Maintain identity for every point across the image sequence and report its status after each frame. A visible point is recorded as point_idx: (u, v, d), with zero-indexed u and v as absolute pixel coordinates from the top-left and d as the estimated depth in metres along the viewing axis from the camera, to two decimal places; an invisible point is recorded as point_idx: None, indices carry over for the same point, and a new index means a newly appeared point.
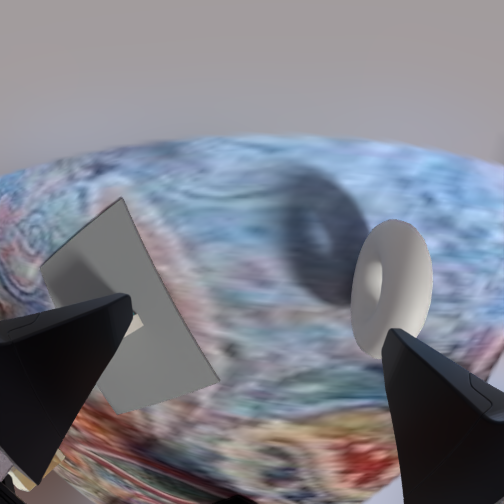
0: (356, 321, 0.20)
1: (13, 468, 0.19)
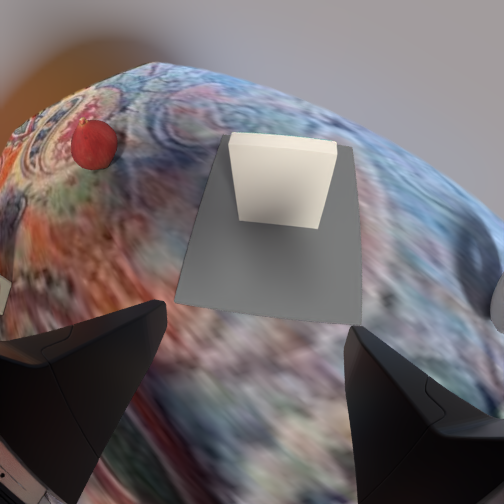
0: None
1: None
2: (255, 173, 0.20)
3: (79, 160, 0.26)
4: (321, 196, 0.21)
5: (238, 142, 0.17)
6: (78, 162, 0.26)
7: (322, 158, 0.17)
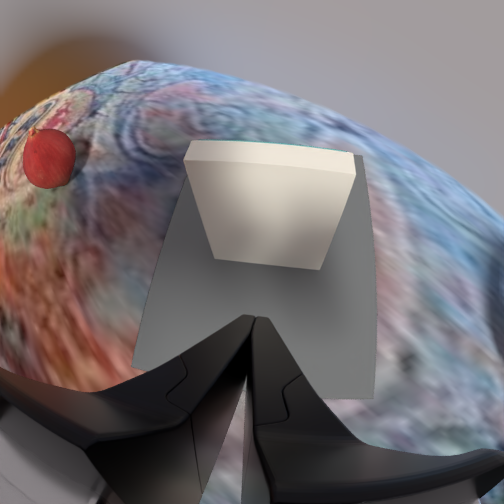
0: None
1: None
2: (229, 201, 0.13)
3: (30, 178, 0.19)
4: (327, 232, 0.14)
5: (199, 156, 0.11)
6: (30, 180, 0.20)
7: (331, 180, 0.11)
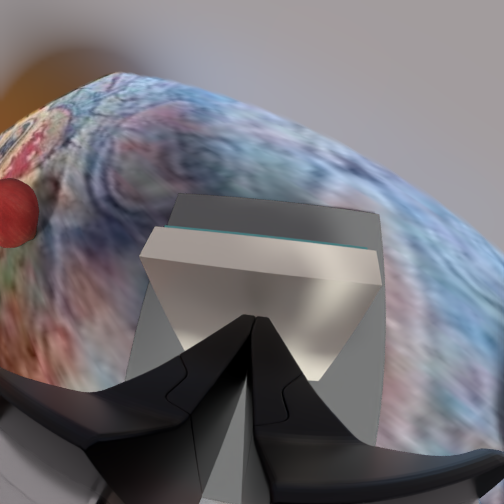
0: None
1: None
2: (204, 311, 0.10)
3: None
4: (332, 348, 0.11)
5: (160, 252, 0.08)
6: None
7: (347, 293, 0.08)
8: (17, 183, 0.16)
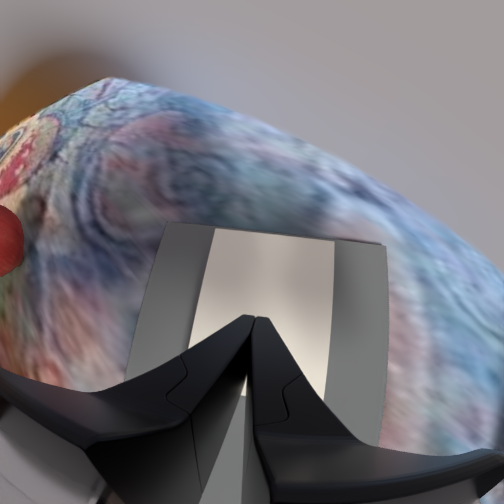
0: None
1: None
2: (235, 272, 0.15)
3: None
4: (324, 315, 0.14)
5: None
6: None
7: (319, 247, 0.16)
8: None
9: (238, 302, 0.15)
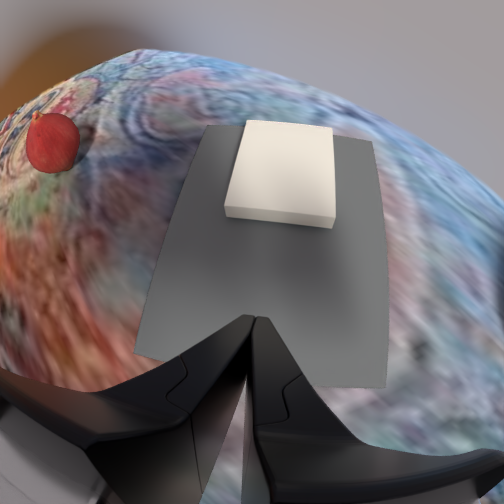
0: None
1: None
2: (263, 141, 0.20)
3: (33, 162, 0.19)
4: (329, 164, 0.19)
5: None
6: (33, 165, 0.19)
7: (321, 130, 0.21)
8: (64, 116, 0.20)
9: (266, 156, 0.20)
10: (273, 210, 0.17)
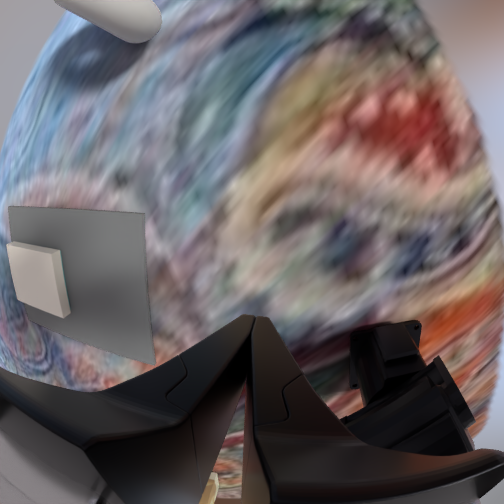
0: None
1: None
2: (26, 291, 0.24)
3: None
4: (26, 252, 0.22)
5: None
6: None
7: (9, 252, 0.23)
8: None
9: (32, 291, 0.24)
10: (57, 291, 0.23)
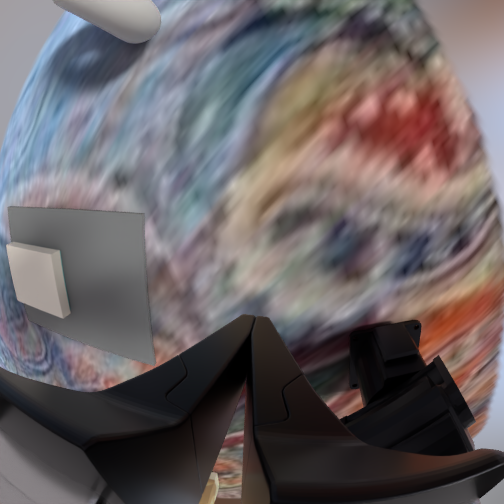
0: None
1: None
2: (25, 292, 0.24)
3: None
4: (26, 252, 0.22)
5: None
6: None
7: (9, 252, 0.23)
8: None
9: (32, 291, 0.24)
10: (57, 291, 0.23)
